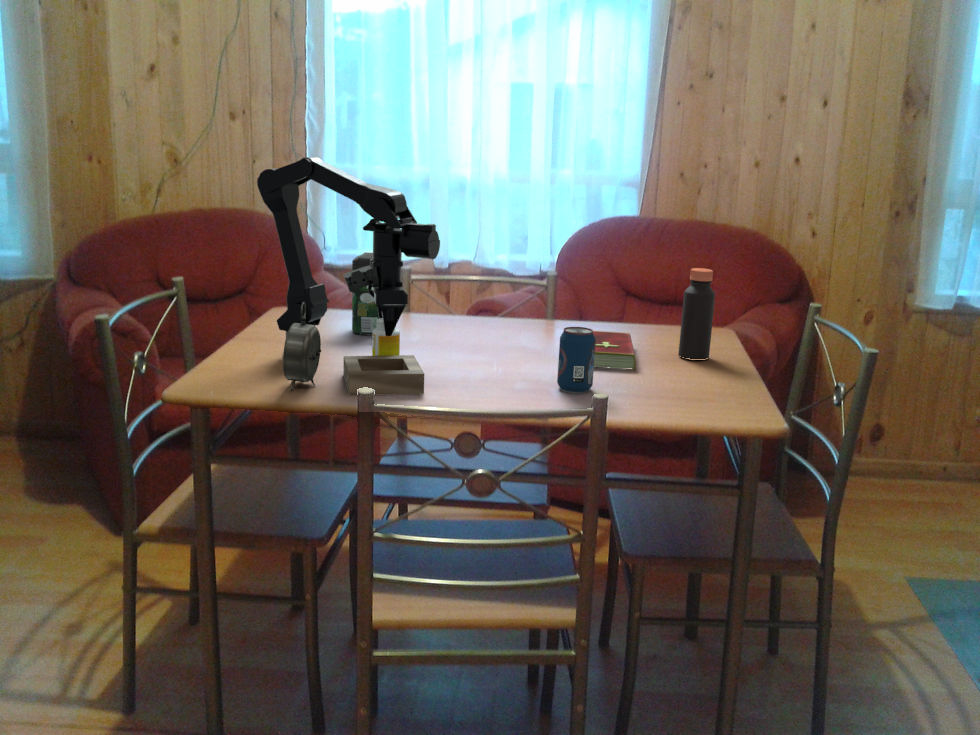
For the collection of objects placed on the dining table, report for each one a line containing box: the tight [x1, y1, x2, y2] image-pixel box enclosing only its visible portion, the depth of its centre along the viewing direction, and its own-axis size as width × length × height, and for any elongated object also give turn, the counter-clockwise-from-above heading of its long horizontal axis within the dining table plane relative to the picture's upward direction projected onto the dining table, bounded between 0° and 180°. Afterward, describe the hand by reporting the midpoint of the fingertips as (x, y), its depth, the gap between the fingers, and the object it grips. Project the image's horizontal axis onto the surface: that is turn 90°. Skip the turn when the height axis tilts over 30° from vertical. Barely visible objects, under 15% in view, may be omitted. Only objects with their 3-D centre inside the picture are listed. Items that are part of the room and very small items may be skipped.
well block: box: [343, 354, 425, 397], centre depth 196 cm, size 14×14×4 cm
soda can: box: [556, 326, 596, 394], centre depth 197 cm, size 7×7×12 cm
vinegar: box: [678, 267, 716, 359], centre depth 225 cm, size 7×7×20 cm
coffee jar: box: [351, 252, 379, 336], centre depth 238 cm, size 10×8×19 cm
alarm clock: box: [282, 302, 322, 392], centre depth 191 cm, size 11×5×16 cm, turn 174°
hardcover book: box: [593, 330, 637, 370], centre depth 225 cm, size 12×21×4 cm, turn 175°
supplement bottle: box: [371, 318, 401, 356], centre depth 207 cm, size 6×6×10 cm
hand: (385, 330), depth 206 cm, fingers open, 9 cm apart
